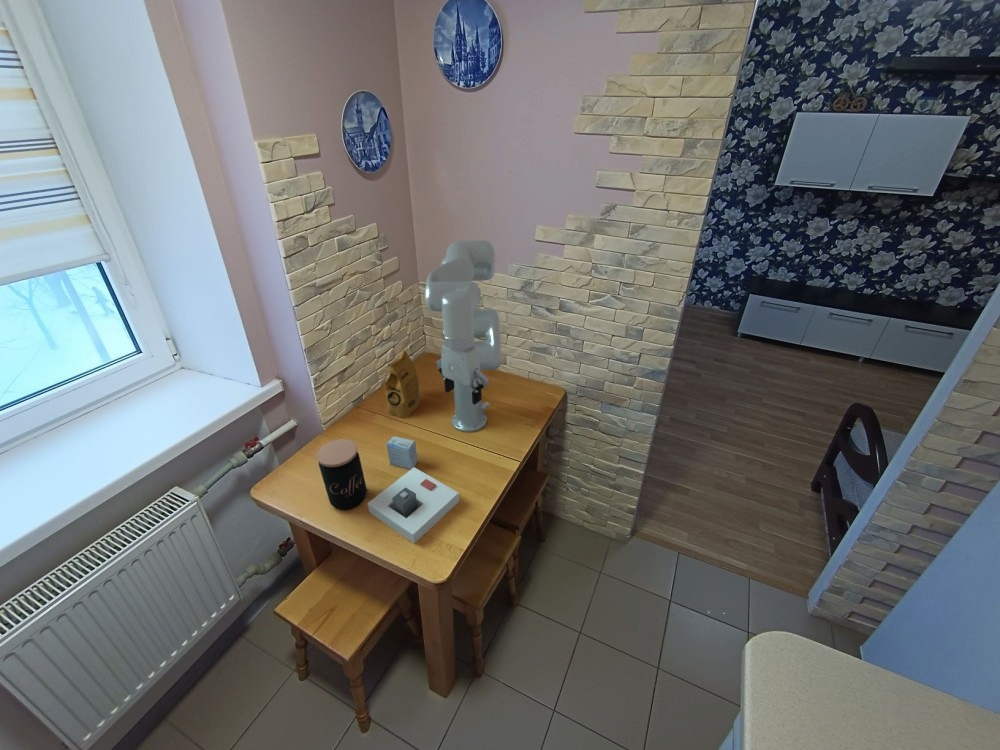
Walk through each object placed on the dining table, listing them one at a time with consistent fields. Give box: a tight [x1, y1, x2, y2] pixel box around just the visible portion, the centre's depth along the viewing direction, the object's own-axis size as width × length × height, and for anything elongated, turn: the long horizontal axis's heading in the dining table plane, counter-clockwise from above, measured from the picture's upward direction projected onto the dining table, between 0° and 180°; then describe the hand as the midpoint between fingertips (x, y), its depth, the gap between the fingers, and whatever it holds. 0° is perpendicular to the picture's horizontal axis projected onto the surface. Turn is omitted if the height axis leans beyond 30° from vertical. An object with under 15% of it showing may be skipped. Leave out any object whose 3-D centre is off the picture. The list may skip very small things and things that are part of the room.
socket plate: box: [366, 467, 460, 544], centre depth 130 cm, size 18×18×4 cm
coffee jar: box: [316, 438, 368, 511], centre depth 129 cm, size 11×11×18 cm
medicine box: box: [386, 435, 419, 470], centre depth 144 cm, size 8×4×9 cm, turn 71°
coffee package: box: [384, 350, 421, 419], centre depth 166 cm, size 10×12×22 cm
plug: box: [392, 487, 418, 518], centre depth 127 cm, size 5×4×8 cm
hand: (463, 396), depth 125 cm, fingers open, 9 cm apart
